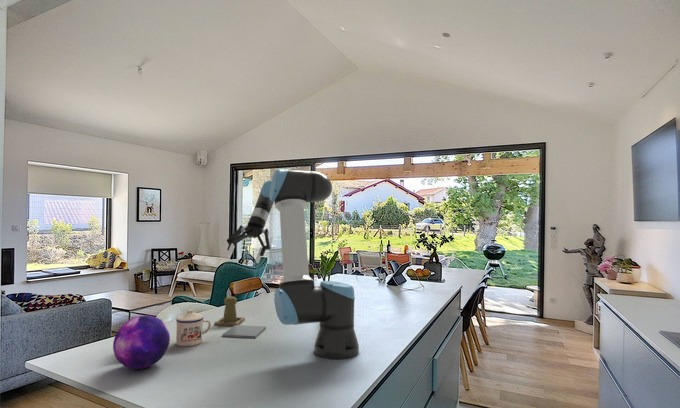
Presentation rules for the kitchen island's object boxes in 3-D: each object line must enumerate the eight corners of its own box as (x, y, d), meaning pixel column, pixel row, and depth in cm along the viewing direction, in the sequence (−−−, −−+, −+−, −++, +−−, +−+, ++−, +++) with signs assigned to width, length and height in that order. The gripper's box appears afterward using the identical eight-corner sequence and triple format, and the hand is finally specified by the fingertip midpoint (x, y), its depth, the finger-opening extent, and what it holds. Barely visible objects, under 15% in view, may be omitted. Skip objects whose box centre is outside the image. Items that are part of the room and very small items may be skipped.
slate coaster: (255, 338, 142) (255, 336, 142) (222, 336, 144) (222, 334, 144) (266, 328, 155) (266, 326, 155) (235, 326, 157) (235, 324, 157)
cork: (231, 320, 167) (232, 294, 167) (240, 322, 163) (240, 296, 163) (219, 323, 162) (220, 296, 163) (227, 325, 158) (228, 299, 159)
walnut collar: (236, 326, 157) (236, 323, 157) (214, 325, 158) (214, 322, 158) (244, 320, 167) (244, 317, 167) (223, 319, 168) (223, 316, 168)
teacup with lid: (178, 348, 130) (179, 314, 130) (172, 341, 137) (173, 308, 138) (214, 342, 137) (215, 309, 137) (206, 336, 144) (207, 304, 145)
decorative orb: (106, 366, 114) (108, 315, 114) (158, 354, 124) (160, 307, 125) (120, 382, 103) (122, 326, 104) (176, 367, 114) (178, 316, 114)
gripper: (285, 227, 178) (271, 267, 166) (235, 221, 183) (218, 260, 170) (281, 218, 172) (267, 259, 160) (230, 212, 177) (212, 251, 164)
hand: (242, 259), depth 165 cm, fingers open, 13 cm apart
